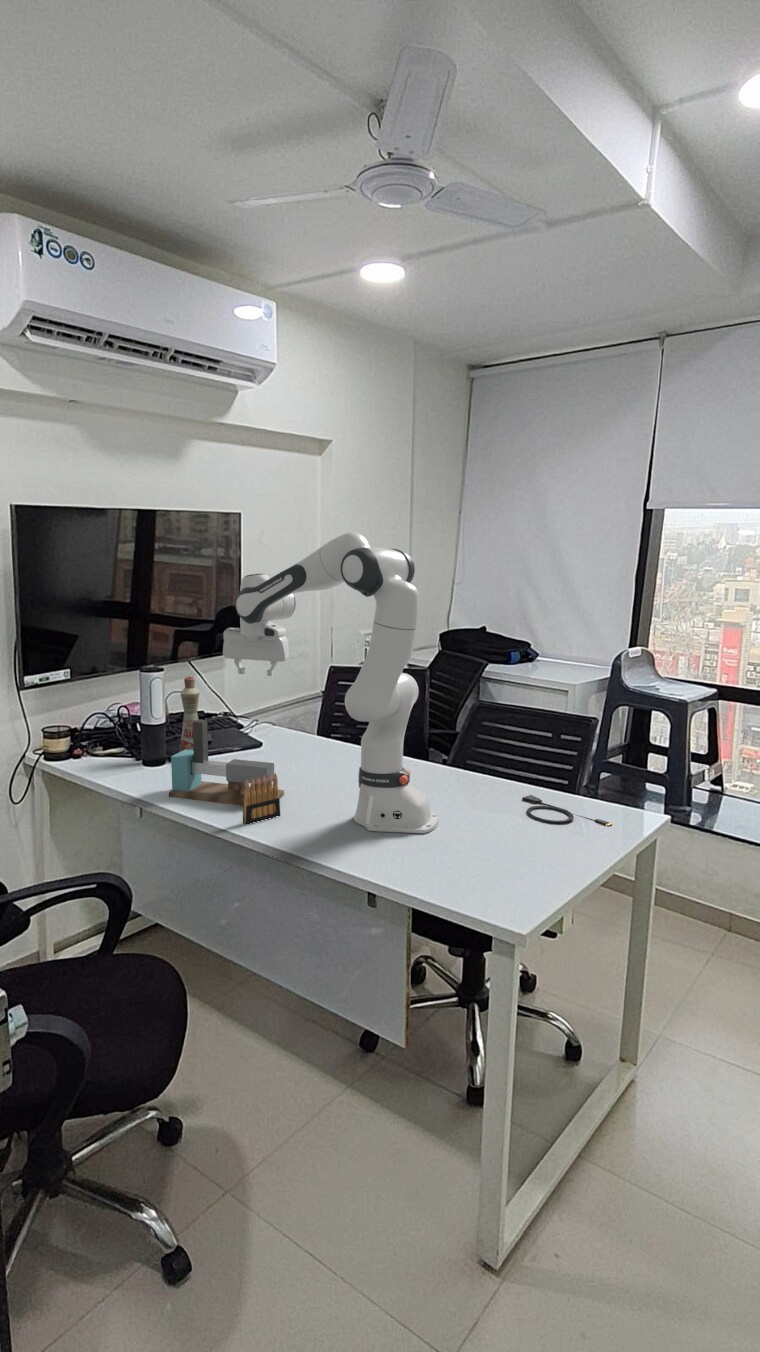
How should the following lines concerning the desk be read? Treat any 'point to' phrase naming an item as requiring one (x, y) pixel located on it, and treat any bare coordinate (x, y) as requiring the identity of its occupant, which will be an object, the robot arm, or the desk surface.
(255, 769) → the outer sleeve
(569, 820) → the cable
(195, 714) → the bottle
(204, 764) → the dark grey upright post
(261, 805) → the ammunition clip
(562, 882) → the desk surface
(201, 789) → the base board
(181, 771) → the socket block
